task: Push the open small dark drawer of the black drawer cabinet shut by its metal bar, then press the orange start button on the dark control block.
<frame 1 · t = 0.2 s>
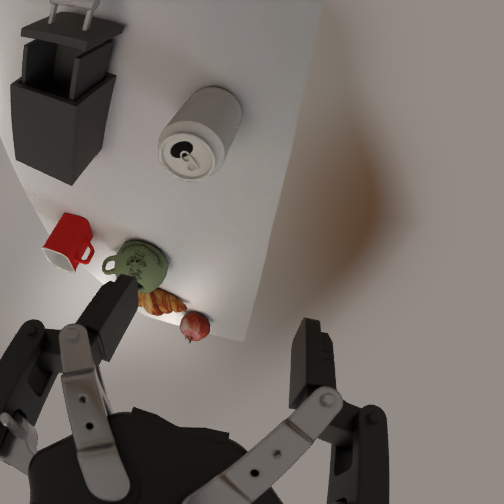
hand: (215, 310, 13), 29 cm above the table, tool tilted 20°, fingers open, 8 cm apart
can: (215, 109, 35), on the table
black drawer cabinet: (76, 103, 35), on the table
mug: (84, 226, 62), on the table
croissant: (154, 291, 83), on the table
small dark drawer: (66, 55, 24), point 5 cm above the table, slide at 7.0 cm
fruit: (198, 314, 91), on the table
mug 2: (140, 252, 67), on the table
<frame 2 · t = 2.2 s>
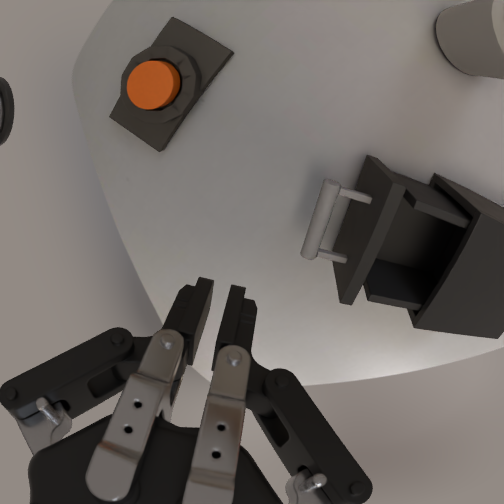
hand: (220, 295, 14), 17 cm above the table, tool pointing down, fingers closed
can: (461, 41, 17), on the table
black drawer cabinet: (458, 240, 29), on the table
start button: (153, 84, 21), point 3 cm above the table, slide at 0.1 cm
small dark drawer: (399, 238, 25), point 5 cm above the table, slide at 7.0 cm
control block: (168, 83, 24), on the table
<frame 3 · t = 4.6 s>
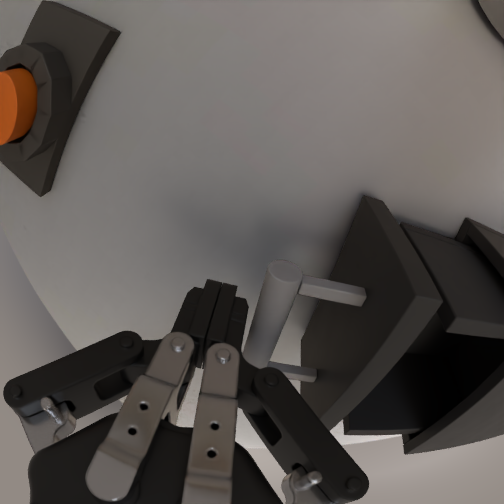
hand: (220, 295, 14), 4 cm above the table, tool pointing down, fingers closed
black drawer cabinet: (484, 306, 18), on the table
start button: (6, 106, 10), point 3 cm above the table, slide at 0.1 cm
small dark drawer: (409, 339, 14), point 5 cm above the table, slide at 6.5 cm, touching gripper
control block: (44, 95, 13), on the table
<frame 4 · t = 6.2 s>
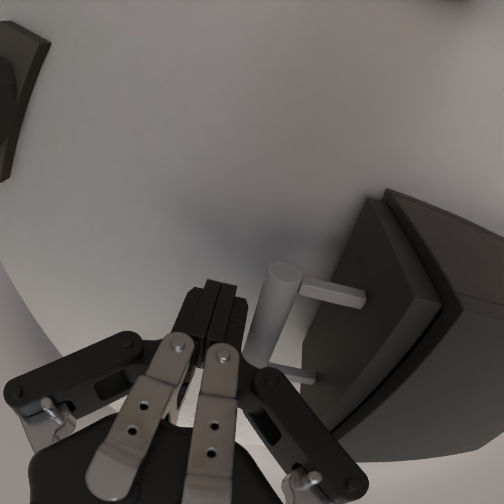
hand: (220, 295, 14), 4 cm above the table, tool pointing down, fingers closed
black drawer cabinet: (435, 300, 18), on the table
small dark drawer: (410, 344, 14), point 5 cm above the table, slide at 0.0 cm, touching black drawer cabinet, gripper
control block: (3, 99, 14), on the table
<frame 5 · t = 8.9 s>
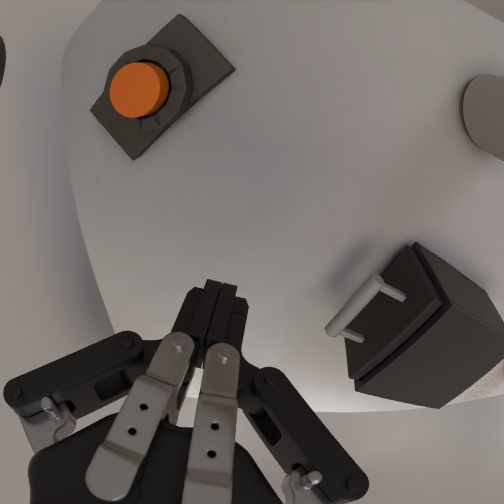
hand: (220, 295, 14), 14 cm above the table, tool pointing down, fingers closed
can: (486, 112, 18), on the table
black drawer cabinet: (422, 307, 30), on the table
start button: (138, 89, 18), point 3 cm above the table, slide at 0.1 cm
small dark drawer: (412, 327, 26), point 5 cm above the table, slide at 0.0 cm
control block: (157, 87, 21), on the table
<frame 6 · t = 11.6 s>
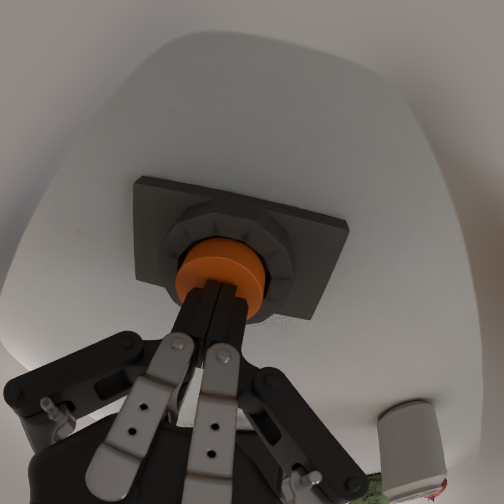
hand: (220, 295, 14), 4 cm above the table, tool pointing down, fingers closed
can: (405, 411, 28), on the table
start button: (221, 283, 15), point 3 cm above the table, slide at 0.0 cm, touching gripper
small dark drawer: (242, 469, 32), point 5 cm above the table, slide at 0.0 cm
fruit: (431, 475, 56), on the table
mug 2: (367, 478, 50), on the table
control block: (232, 247, 18), on the table
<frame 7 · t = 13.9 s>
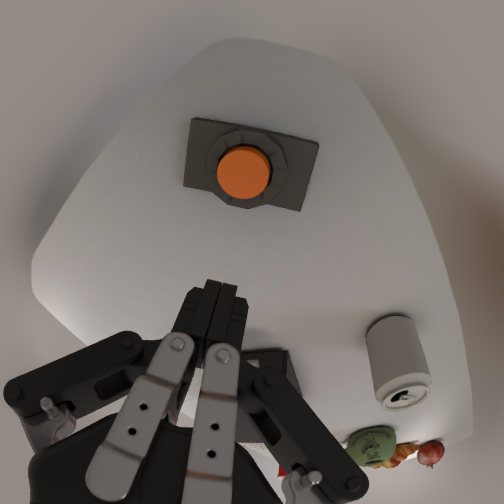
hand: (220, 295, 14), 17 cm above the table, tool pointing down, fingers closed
can: (389, 329, 38), on the table
black drawer cabinet: (259, 379, 47), on the table
croissant: (386, 449, 67), on the table
start button: (243, 172, 25), point 3 cm above the table, slide at 0.1 cm
small dark drawer: (250, 391, 41), point 5 cm above the table, slide at 0.0 cm
fruit: (429, 442, 65), on the table
mug 2: (365, 434, 59), on the table
control block: (249, 161, 28), on the table
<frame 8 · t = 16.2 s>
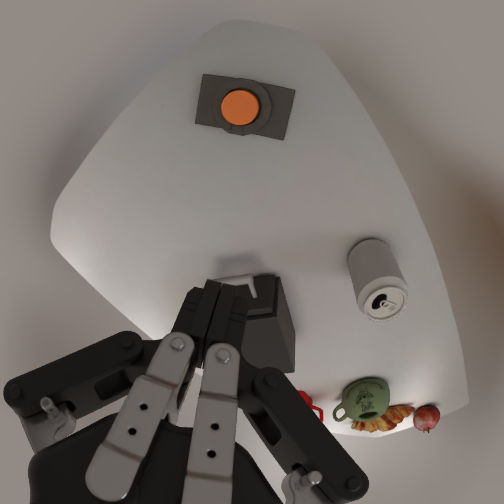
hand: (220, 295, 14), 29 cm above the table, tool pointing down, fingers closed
can: (368, 255, 45), on the table
black drawer cabinet: (255, 311, 55), on the table
mug: (301, 396, 71), on the table
croissant: (381, 412, 74), on the table
start button: (240, 107, 32), point 3 cm above the table, slide at 0.1 cm
small dark drawer: (246, 315, 49), point 5 cm above the table, slide at 0.0 cm
fruit: (424, 407, 73), on the table
mug 2: (359, 389, 67), on the table
control block: (244, 105, 35), on the table
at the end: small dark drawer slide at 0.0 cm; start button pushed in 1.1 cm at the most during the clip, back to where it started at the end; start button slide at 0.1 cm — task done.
